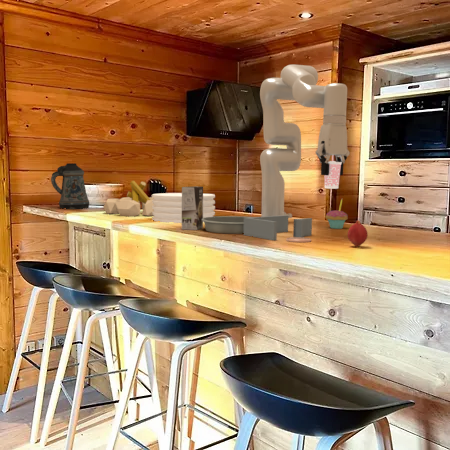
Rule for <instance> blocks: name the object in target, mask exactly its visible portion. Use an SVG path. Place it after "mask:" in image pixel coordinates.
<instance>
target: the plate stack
mask: <svg viewBox="0 0 450 450" xmlns="http://www.w3.org/2000/svg"><path fill="white" fill-rule="evenodd" d="M151 197H153V198H154V200H152V203H153V204H154V205H153V206H152V209H154V211H152V215H154V216H151V217H152V218H151V219H152V221H153V220H154V222H158V221H160V222H159V223H169V222H174V223H173V224H182V192H165V193H164V192H163V193H162V192H161V193H153V194H151ZM215 198H216V195H215V193H203V218H206V217H214V216H215V215H216V211H214V210H216V206H215V204H216V200H215ZM203 223H204V221H203Z"/></svg>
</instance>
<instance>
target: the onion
mask: <svg viewBox="0 0 450 450" xmlns="http://www.w3.org/2000/svg"><path fill="white" fill-rule="evenodd" d="M347 238H348V240H349V242H351V244H353V246H355V247H356V248H357V247H358V248H359V247H361V246H362V245H363V244H364V243H365V242H366V241H367V239H368V230H367V228H366V226H364V225H363V224H362V223H361V221H360V220H356V221H355V223H353V224H352V225H350V227H349V229H348V231H347Z"/></svg>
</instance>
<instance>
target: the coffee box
mask: <svg viewBox="0 0 450 450" xmlns="http://www.w3.org/2000/svg"><path fill="white" fill-rule="evenodd" d="M181 193H182V223H181V230H187V231H188V230H189V231H190V230H191V231H199V230H200V229H203V228H204V222H203V221H202V218H203V194H204V186H182V187H181Z"/></svg>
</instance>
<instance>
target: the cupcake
mask: <svg viewBox="0 0 450 450" xmlns="http://www.w3.org/2000/svg"><path fill="white" fill-rule="evenodd" d="M342 204H343V199H341V200H340V203H339V207H338V210H337V209H336V210H330V211H328V212H327V213H326V214H325V219H326V220H327V222H328V224H329V228H330V229H333V230H335V229H336V230H337V229H338V230H341V229H343V227H344V225H345V222H346V220H347V221H348V217H349V216H348V214H347V213H346V212H344V211H343V210H342Z"/></svg>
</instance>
